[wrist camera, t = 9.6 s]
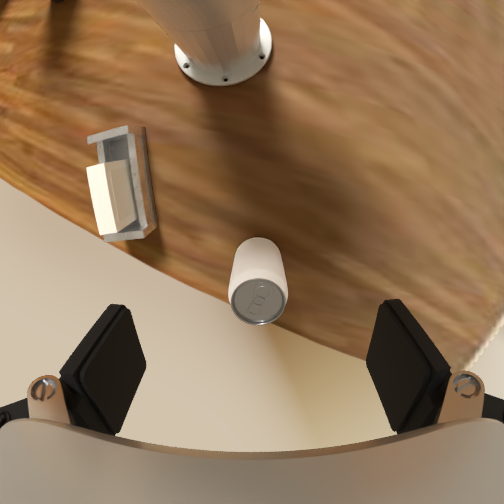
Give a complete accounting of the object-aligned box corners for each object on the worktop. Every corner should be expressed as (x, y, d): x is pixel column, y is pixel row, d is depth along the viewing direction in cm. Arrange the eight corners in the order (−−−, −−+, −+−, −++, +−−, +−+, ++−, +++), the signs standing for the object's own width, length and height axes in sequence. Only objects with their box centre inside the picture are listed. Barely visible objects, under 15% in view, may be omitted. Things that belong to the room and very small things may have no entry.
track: (107, 136, 33) (87, 136, 28) (144, 127, 33) (127, 125, 28) (122, 229, 38) (104, 242, 33) (158, 225, 38) (144, 237, 33)
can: (288, 245, 39) (300, 286, 28) (271, 284, 41) (275, 335, 30) (243, 229, 38) (238, 266, 27) (228, 270, 40) (218, 318, 29)
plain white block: (117, 161, 34) (86, 167, 26) (133, 157, 34) (104, 162, 26) (127, 217, 37) (99, 235, 29) (143, 214, 36) (117, 232, 29)
